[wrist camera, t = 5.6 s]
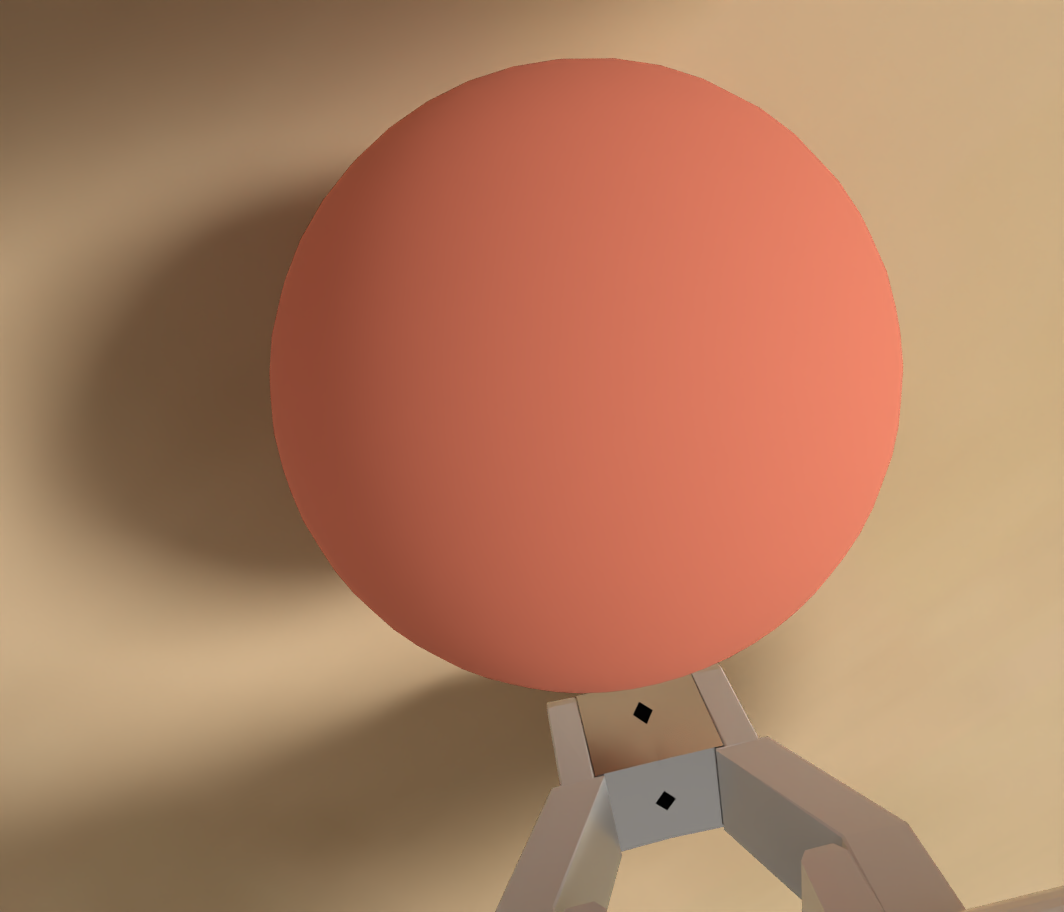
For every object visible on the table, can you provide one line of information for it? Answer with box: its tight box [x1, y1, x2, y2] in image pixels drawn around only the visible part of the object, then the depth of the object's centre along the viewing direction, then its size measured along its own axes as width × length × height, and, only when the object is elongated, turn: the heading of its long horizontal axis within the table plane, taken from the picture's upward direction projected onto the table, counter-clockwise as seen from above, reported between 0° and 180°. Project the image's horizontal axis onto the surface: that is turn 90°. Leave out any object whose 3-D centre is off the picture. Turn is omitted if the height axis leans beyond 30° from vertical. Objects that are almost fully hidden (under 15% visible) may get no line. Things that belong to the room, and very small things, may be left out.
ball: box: [269, 58, 903, 693], centre depth 7 cm, size 6×6×6 cm
